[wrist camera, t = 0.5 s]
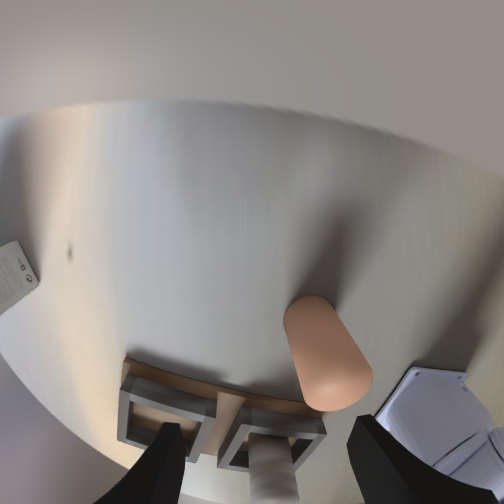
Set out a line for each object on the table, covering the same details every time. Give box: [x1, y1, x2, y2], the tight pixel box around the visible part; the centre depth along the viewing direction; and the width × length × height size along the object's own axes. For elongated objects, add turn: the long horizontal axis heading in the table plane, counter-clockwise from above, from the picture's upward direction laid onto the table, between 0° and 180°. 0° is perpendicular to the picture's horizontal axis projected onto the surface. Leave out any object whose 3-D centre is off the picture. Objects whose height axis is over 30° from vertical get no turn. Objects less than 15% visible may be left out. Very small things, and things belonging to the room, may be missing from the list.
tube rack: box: [117, 358, 331, 504], centre depth 18 cm, size 17×9×8 cm, turn 71°
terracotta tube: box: [283, 296, 373, 411], centre depth 16 cm, size 4×4×7 cm
